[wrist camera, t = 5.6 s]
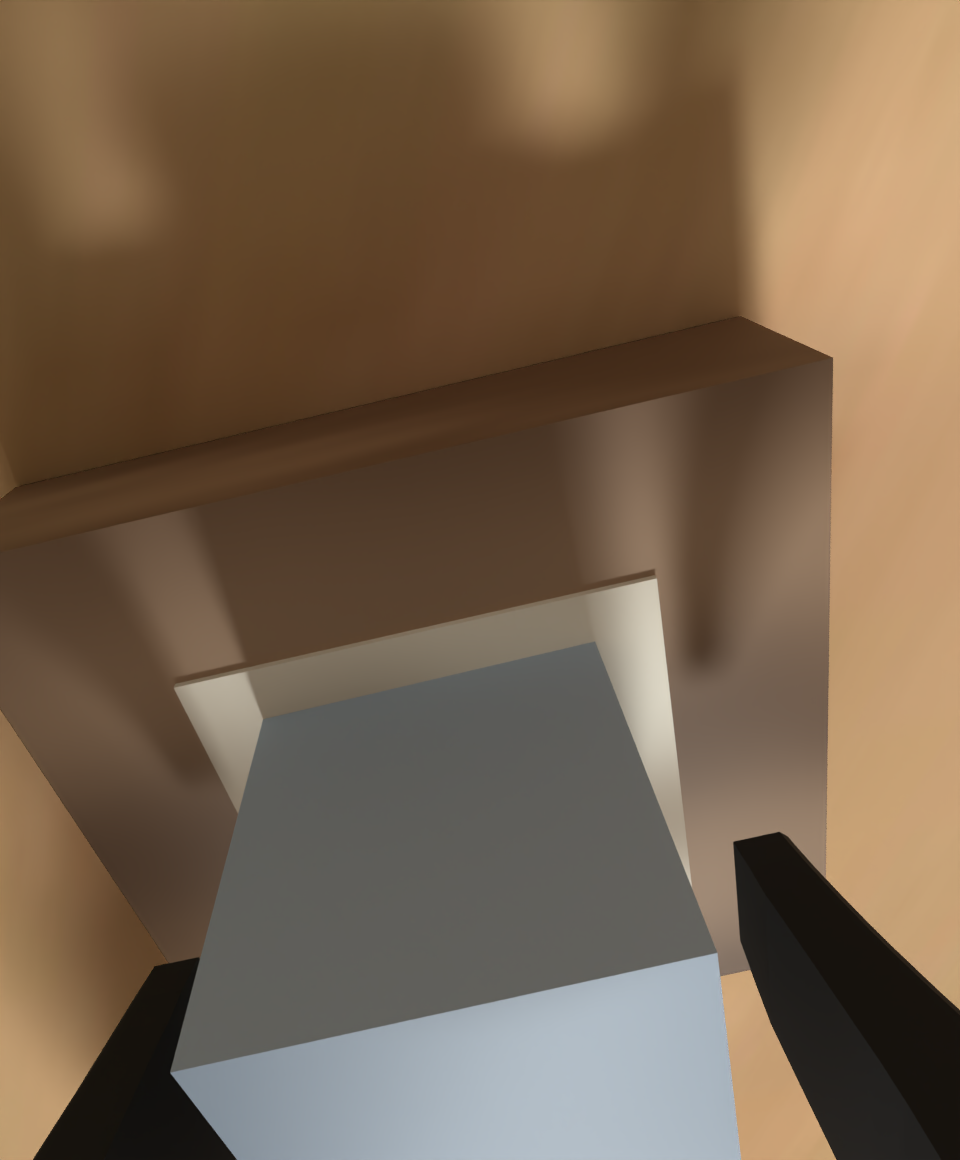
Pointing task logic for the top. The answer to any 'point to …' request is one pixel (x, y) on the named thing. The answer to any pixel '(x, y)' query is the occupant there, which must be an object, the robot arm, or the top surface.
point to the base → (442, 596)
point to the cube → (459, 937)
